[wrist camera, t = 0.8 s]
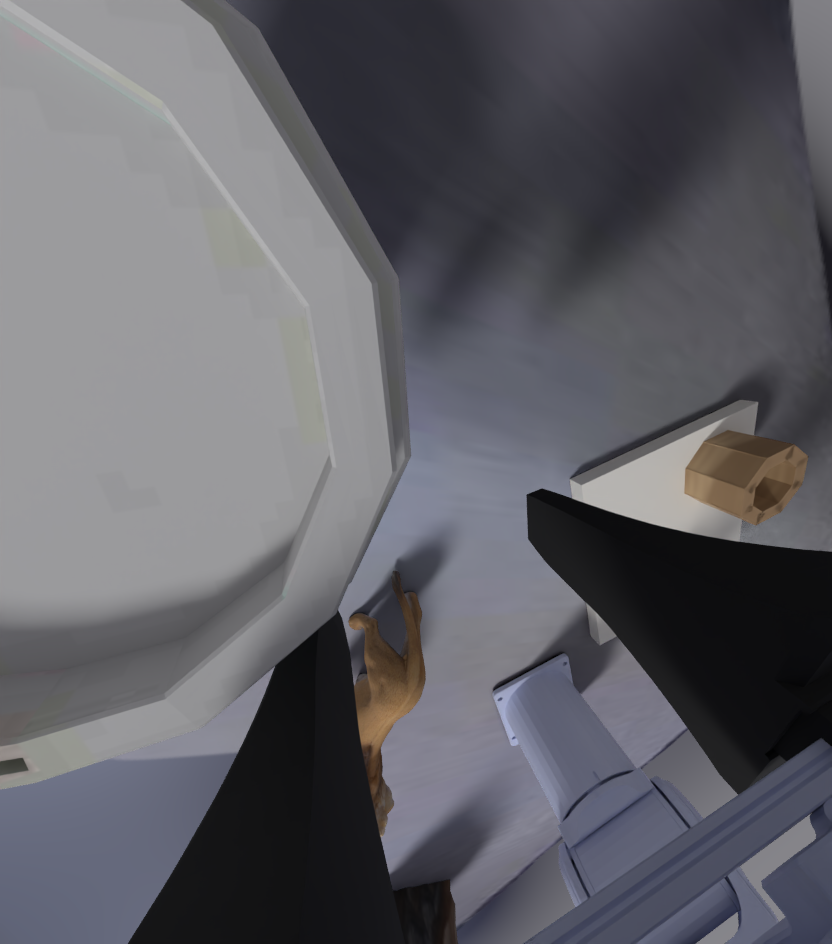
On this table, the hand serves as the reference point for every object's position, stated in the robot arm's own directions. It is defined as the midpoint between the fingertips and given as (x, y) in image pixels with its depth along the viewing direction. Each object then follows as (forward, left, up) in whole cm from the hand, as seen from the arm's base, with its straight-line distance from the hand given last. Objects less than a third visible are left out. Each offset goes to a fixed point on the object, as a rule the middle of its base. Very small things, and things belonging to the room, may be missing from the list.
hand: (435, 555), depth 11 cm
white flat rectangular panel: (-16, -20, -10) cm, 28 cm away
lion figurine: (-14, +6, -10) cm, 19 cm away
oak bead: (-11, -24, -9) cm, 28 cm away
